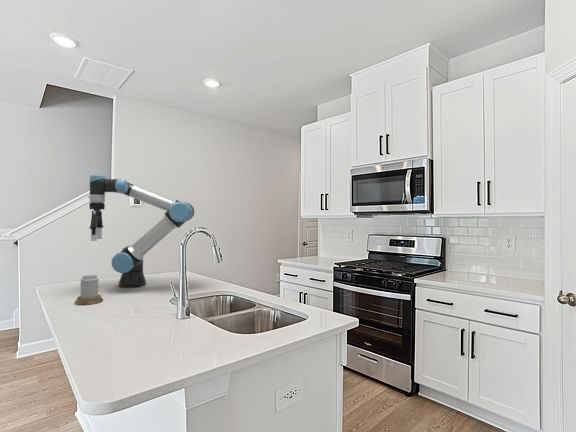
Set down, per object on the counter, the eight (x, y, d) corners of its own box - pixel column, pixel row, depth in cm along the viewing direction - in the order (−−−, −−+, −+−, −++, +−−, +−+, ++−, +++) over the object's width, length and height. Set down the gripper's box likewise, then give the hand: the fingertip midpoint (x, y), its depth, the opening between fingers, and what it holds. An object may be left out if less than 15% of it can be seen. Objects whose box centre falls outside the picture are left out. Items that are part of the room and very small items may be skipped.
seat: (105, 298, 174) (105, 293, 174) (100, 304, 163) (100, 298, 163) (78, 299, 170) (78, 294, 170) (71, 305, 159) (71, 300, 159)
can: (91, 302, 162) (91, 277, 162) (76, 301, 163) (77, 276, 163) (101, 298, 170) (101, 274, 170) (87, 297, 170) (88, 274, 170)
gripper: (94, 202, 200) (93, 238, 201) (84, 201, 177) (83, 241, 177) (108, 203, 203) (107, 238, 203) (100, 202, 179) (99, 241, 179)
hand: (96, 239), depth 190 cm, fingers open, 13 cm apart
